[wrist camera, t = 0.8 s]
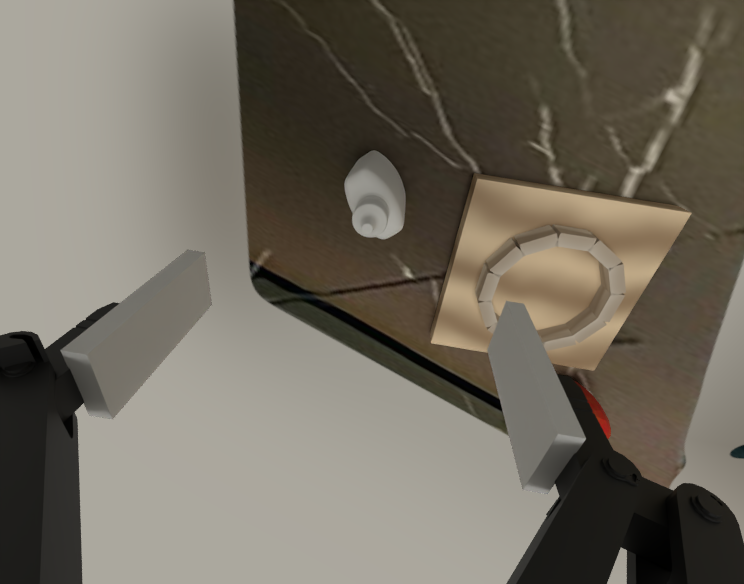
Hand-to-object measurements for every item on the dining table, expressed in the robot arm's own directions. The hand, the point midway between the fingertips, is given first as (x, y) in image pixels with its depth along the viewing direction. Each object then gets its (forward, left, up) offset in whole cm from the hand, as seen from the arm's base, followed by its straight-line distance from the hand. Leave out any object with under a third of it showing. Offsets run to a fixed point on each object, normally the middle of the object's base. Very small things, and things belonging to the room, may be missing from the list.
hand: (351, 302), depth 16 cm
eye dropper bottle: (0, 0, -21) cm, 21 cm away
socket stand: (+7, +17, -20) cm, 27 cm away
